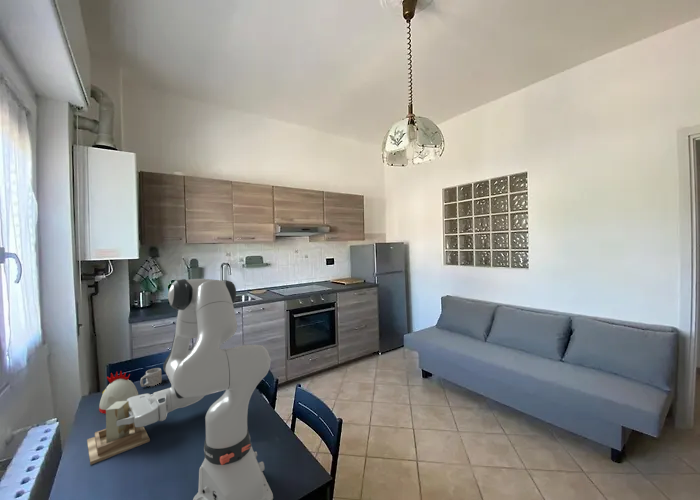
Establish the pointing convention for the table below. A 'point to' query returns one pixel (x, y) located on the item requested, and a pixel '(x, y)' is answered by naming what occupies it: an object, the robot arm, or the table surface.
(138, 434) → the oak stand
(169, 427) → the table surface
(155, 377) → the mug
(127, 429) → the skincare box
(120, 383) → the kitchen timer
